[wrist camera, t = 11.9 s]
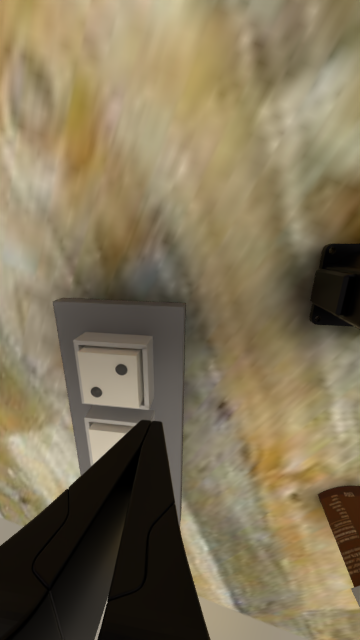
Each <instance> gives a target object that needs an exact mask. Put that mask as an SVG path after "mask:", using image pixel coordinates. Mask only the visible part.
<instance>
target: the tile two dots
mask: <svg viewBox="0 0 360 640" xmlns="http://www.w3.org/2000/svg"><path fill="white" fill-rule="evenodd" d="M77 354H78V361H79V368H80V375H81V383H82V390H83V397H84V403H89V404H99V405H110V406H120V407H130V408H139V407H140V405H141V402H142V400H143V398H144V377H143V352H142V349H134V348H118V347H103V346H88V345H86V346H84V347H83V348H82V349H81V350H79V351H78V352H77Z"/></svg>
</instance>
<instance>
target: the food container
mask: <svg viewBox="0 0 360 640" xmlns="http://www.w3.org/2000/svg"><path fill="white" fill-rule="evenodd" d="M318 496H319V499H320V502H321V504H322V507H323V509H324V512H325V514H326V517H327V519H328V522H329V524H330V527H331V529H332V532H333V534H334V537H335V539H336V542H337V544H338V547H339V550H340V552H341V555H342V557H343V560H344V562H345V565H346V567H347V570H348V572H349V575H350V577H351V580H352V582H353V585H354V588H351V590H352V592H353V594H354V596H355V598H356V600H357V602H358V604H359V607H360V486H342V487H336V488H332V489H329V490H326V491H323V492H321V493H320V494H318Z"/></svg>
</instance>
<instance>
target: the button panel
mask: <svg viewBox="0 0 360 640" xmlns="http://www.w3.org/2000/svg"><path fill="white" fill-rule="evenodd" d="M53 306H54V312H55V318H56V325H57V331H58V337H59V343H60V349H61V356H62V362H63V368H64V374H65V380H66V386H67V393H68V399H69V405H70V411H71V417H72V424H73V430H74V436H75V442H76V448H77V455H78V461H79V467H80V473H81V475H82V474H84V473H85V472H86V471H87V470H88V469H89V468H90V467H91V466H92V465H93V459H92V451H91V444H90V436H89V428H90V426H91V425H92V423H93V422H98V423H108V424H117V425H127V426H135V425H136V424H137V423H138V422H139V421H140V420H151V421H161V422H162V423H163V429H164V435H165V441H166V447H167V454H168V460H169V466H170V472H171V479H172V485H173V491H174V497H175V505H176V509H177V516H178V521H179V526H180V521H181V497H182V453H183V409H184V365H185V321H186V303H172V302H148V301H124V300H100V299H76V298H61V299H58V300H55V301H53ZM86 345H88V346H103V347H118V348H134V349H142V352H143V377H144V398H143V400H142V402H141V405H140V407H139V408H130V407H120V406H110V405H99V404H89V403H84V397H83V390H82V383H81V375H80V368H79V361H78V354H77V352H78V351H79V350H81V349H82V348H83V347H84V346H86Z"/></svg>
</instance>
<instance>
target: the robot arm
mask: <svg viewBox="0 0 360 640" xmlns="http://www.w3.org/2000/svg"><path fill="white" fill-rule="evenodd" d="M331 247H332V248H333V252H332V253H331V254H330V253H329V249H330V248H331ZM311 302H312V308H311V313H310V321H311V322H312V323H314V324H317V325H336V326H354V327H356V328H358V329H360V244H328V245H326V246H325V247H324V249H323V253H322V258H321V263H320V268H319V269H318V270H317V271H316V274H315V280H314V285H313V290H312V295H311ZM317 316H319V319H318V320H315V317H317ZM107 598H108V601H107ZM106 601H107V602H108V603H107V605H106V609H105V614H104V617H103V622H102V626H101V629H100V633H99V636H98V640H210V637H209V634H208V630H207V627H206V624H205V620H204V617H203V613H202V610H201V606H200V603H199V599H198V595H197V592H196V588H195V585H194V581H193V578H192V574H191V571H190V567H189V564H188V560H187V556H186V552H185V549H184V545H183V541H182V537H181V531H180V526H179V521H178V516H177V509H176V505H175V497H174V491H173V485H172V479H171V472H170V466H169V460H168V454H167V447H166V441H165V435H164V429H163V423H162V422H161V421H151V420H140V421H139V422H138V423H137V424H136V425H135V426H134V427H133V428H132V429H131V430H130V431H129V432H127V433H126V434H125V435H124V436H123V437H122V438H121V439H120V440H119V441H118V442H117V443H116V444H115V445H114V446H112V447H111V448H110V449H109V450H108V451H107V452H106V453H105V454H104V455H103V456H102V457H101V458H100V459H99V460H97V461H96V462H95V463H94V464H93V465H92V466H91V467H90V468H89V469H88V470H87V471H86V472H85V473H84V474H82V475H81V476H80V477H79V478H78V479H77V480H76V481H75V482H74V483H73V484H72V485H71V486H70V487H69V489H66V490H65V491H64V492H63V493H62V494H61V495H60V496H59V497H58V498H57V499H55V500H54V501H53V502H52V503H51V504H50V505H49V506H48V507H47V508H45V509H44V510H43V511H42V512H41V513H40V514H39V515H37V516H36V517H35V518H34V519H33V520H31V521H30V522H29V523H28V524H27V525H25V526H24V527H23V528H22V529H21V530H19V531H18V532H17V533H16V534H14V535H13V536H12V537H11V538H9V539H8V540H7V541H6V542H5V543H3V544H2V545H1V546H0V640H94V639H95V636H96V632H97V629H98V626H99V623H100V620H101V616H102V614H103V611H104V607H105V604H106Z"/></svg>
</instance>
